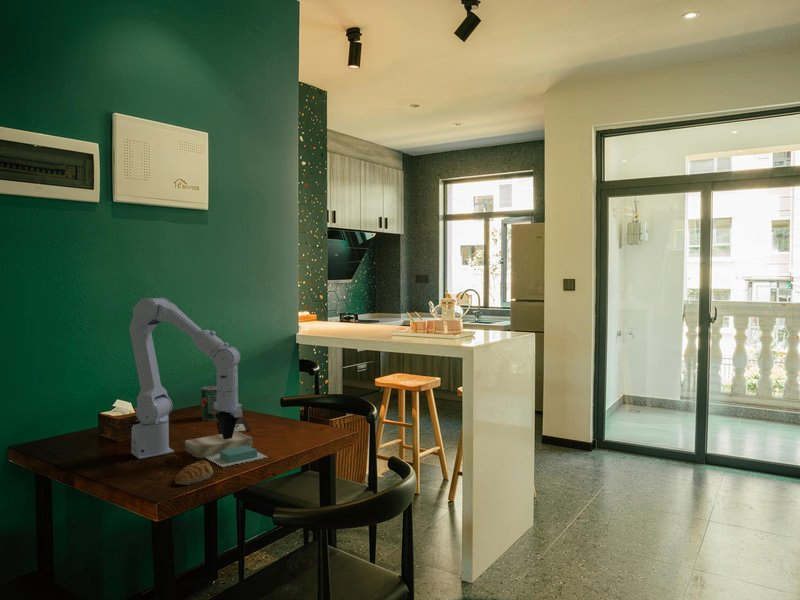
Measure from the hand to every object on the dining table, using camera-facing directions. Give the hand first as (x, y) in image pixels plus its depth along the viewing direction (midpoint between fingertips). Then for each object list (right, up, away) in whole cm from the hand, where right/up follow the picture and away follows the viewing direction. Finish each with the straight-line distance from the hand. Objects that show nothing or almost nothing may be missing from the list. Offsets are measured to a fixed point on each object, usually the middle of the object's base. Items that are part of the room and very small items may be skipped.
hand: (227, 438), depth 159 cm
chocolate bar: (-8, -4, +32) cm, 33 cm away
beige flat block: (-4, -4, +5) cm, 7 cm away
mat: (+3, -5, -4) cm, 7 cm away
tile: (+4, -3, -5) cm, 7 cm away
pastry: (-2, -5, -20) cm, 21 cm away
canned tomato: (-19, -4, +45) cm, 49 cm away
